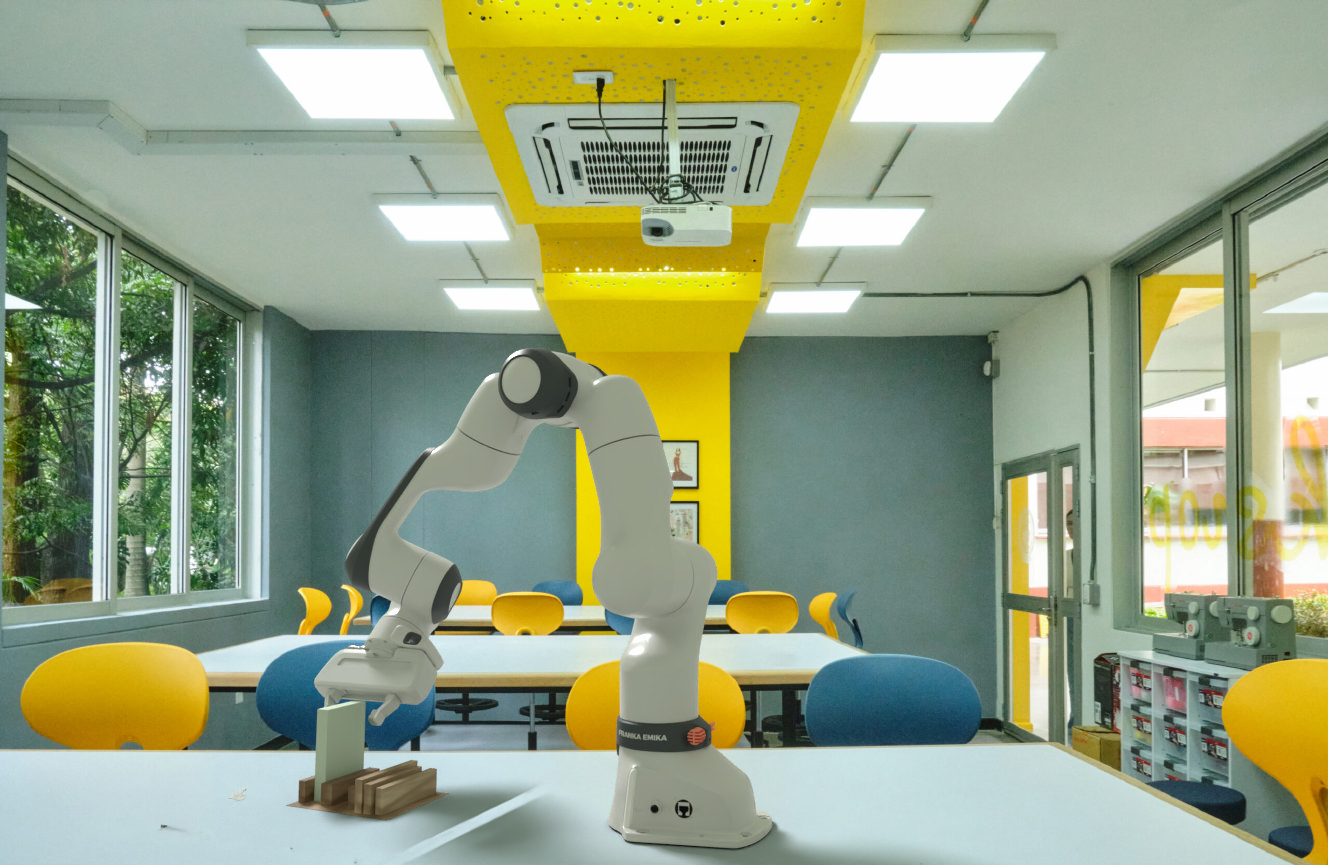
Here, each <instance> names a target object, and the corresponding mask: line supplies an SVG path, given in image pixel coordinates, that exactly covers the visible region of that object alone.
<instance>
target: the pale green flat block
mask: <svg viewBox="0 0 1328 865" xmlns="http://www.w3.org/2000/svg"><path fill="white" fill-rule="evenodd" d="M366 702H367V701H363V700H350V701H345V702H343V703H336V704H335V705H333V706H329V707H324V706H323V707H324V708H323V707H320V708H317V711H316V713H317V714H316V734H315V735H316V739H315V741H316V742H315V765H314V766H315V769H314V775H315V788H314V801H318V802H321V783H324V782H327V781H330V780H333V779H336V778H339V777H342V776H345V775H348V774H351V773H354V772H357V771H360V770H363V769H365V768H364V766H365V764H364V763H365V739H366V738H365V735H366V734H365V733H366V732H365V731H366Z"/></svg>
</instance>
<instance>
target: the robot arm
mask: <svg viewBox="0 0 1328 865" xmlns="http://www.w3.org/2000/svg"><path fill="white" fill-rule="evenodd" d="M457 422H458V423H457V425H456V427H455V428H454V430H453V432H452V434H451V435H450V436H449V438H448V439H447V440H446V441H444V442H443V443H442V444H441V445H439V446H430V447H429V446H428V447H427V448H426V449H425V450H424V451H423V452H421V453H420V454H419V456H418V457H416V459H415V460H414V461H413V462H412V464H411V465H410V466H409V468H408V469H407V470H406V472H405V473H404V474H403V475H402V478H401V479H400V480H399V481H398V483H397V485H396V486H395V487H394V489H393V490H392V492H391V493H390V494H389V496H388V497H387V499H386V501H385V502H384V503H383V505H382V507H381V508H380V509H379V511H378V512H377V513H376V515H375V517H374V518H373V520H372V521H371V523H369V525H368V526H367V528H366V529H365V530H364V532H363V533H362V534H361V535H360V536H359V537H358V538H357V539H356V541H355V542H353V545H352V546H351V547H350V549H349V551H348V552H347V554H346V558H345V562H344V564H343V565H344V570H345V572H346V573H345V574H346V576H347V578H348V580H349V582H350V584H351V585H352V587H354V588H357V589H359V590H362V591H366V592H369V593H371V594H375V595H377V596H380V597H382V598H385V599H387V601H390V604H389V608H388V610H387V611H386V612H385V613H384V614H383V615H382V616H381V617H380V618H379V619H378V621H377V622H376V624H375V626H374V628H373V629H372V631H371V632H370V633H369V635H368V637H367V638H366V639H365V641H364V643H363V645H355V644H353V645H348V646H347V647H346V648H343V649H340V650H338V651H337V652H336V653H335V654H333V655H332V657H330V659H328V661H327V663H325V665H324V666H323V667H322V668H321V670H320V671H319V672H318V674H316V677H314V681H313V684H314V687H315V689H316V691H317V692H318V693H319V694H320V695H321V697H323V698H324V702H323V703H324V706H323V707H322V708H324V707H329V706H333V705H336V704H340V701H341V700H350V701H354V700H359V701H366V702H376V703H382V704H381V705H380V706H379V707H378V708H377V709H372V710H371V712H370V714H369V715H368V717H367V721H368V722H369V723H370V726H377V727H378V726H382V724H383V723H384V722H385V719H386V718H387V717H389V716H390V715H391V714H393V713H394V712H395V711H396V710H398V709H399V707H400V705H401V704H405V705H414V706H417V705H420V704H421V703H423V701H425V700H426V699H427V697H428V696H429V694H430V692H431V690H432V688H433V687H434V686H435V685H434V684H435V682H436V679H437V677H438V671H439V670H441V669H442V667H443V665H444V662H445V661H444V659H443V658H442V656H441V654H440V652H439V651H438V649H437V648H436V646H435V645H434V643H433V642H432V641H431V639H430V636H431V634H432V633H433V631H435V630H436V629H437V628H438V626H439V625H440V623H441V622H443V621H444V620H446V619H447V618H448V616H449V615H450V613H451V612H452V609H453V608H454V606H455V604H456V603H457V601H458V599H459V597H460V595H461V592H462V590H463V584H464V583H463V579H462V575H461V572H460V569H459V567H458V565H457V564H456V563H455V562H453V561H451V560H450V559H448V558H445V557H443V556H442V555H439V554H437V553H435V552H432V551H429V550H427V549H425V548H422V547H420V546H418V545H417V544H414V543H412V542H410V541H408V540H405V539H404V538H402V537H401V536H400V534H399V529H400V528H401V526H402V525H403V524H404V522H405V520H406V519H407V517H408V516H409V515H410V513H411V511H412V510H413V508H414V507H415V506H416V504H417V503H418V501H419V500H420V498H421V497H422V496H423V495H424V494H425V493H427V492H431V491H453V492H465V493H475V492H484V491H485V492H486V491H489V490H492V489H495V488H496V487H497V488H498V487H499V486H500V485H502V484H503V483H504V482H506V481H507V480H508V478H509V477H510V475H511V474H512V473H513V470H514V469H515V467H516V466H517V463H518V461H519V459H520V457H521V455H522V453H523V450H524V448H525V446H526V444H527V441H528V439H529V437H530V436H531V434H532V431H533V430H534V429H536V427H538V426H540V425H542V424H547V425H550V426H552V427H553V426H554V427H558V428H559V427H560V428H570V429H574V430H579V431H580V433H581V435H582V437H583V441H584V445H585V451H586V454H587V457H588V461H589V466H590V471H591V474H592V478H593V482H594V487H595V490H596V495H597V500H598V504H599V512H600V547H599V548H600V549H599V553H598V556H597V558H596V559H595V562H594V564H593V568H592V572H591V585H592V590H593V593H594V595H595V597H596V599H597V600H598V603H600V605H601V606H602V607H603V608H604V609H606V610H607V611H608V612H611V613H612V614H615V615H619V616H622V617H626V618H630V619H634V622H633V626H632V630H631V633H630V637H629V641H628V642H627V645H626V647H625V649H624V650H623V652H622V654H621V657H620V661H619V714H618V715H617V717H616V733H615V743H616V745H615V746H616V755H617V756H618V760H617V769H616V778H615V779H616V780H615V786H614V793H613V799H612V804H611V807H610V812H609V815H608V818H607V824H608V825H609V826H610V827H611V828H612V829H614V830H616V831H617V832H619V833H620V834H621V836H622V838H623V840H625V841H627V842H634V843H650V844H663V845H667V844H668V845H675V846H676V845H677V846H678V845H681V846H692V847H693V846H694V847H708V848H709V847H710V848H722V849H723V848H724V849H739V848H743V847H747V846H749V845H753V844H755V843H757V842H759V841H760V840H762V839H763V838H764V837H765V836H767V835H768V833H769V832H770V831H771V830H772V828H773V820H772V816H771V814H770V813H769V811H764V810H760V809H757V807H756V800H755V798H756V797H755V792H754V788H753V786H752V781H751V780H750V778H749V776H748V775H747V773H746V772H744V770H742V769H740V768H739V767H738V766H737V765H735V764H734V762H732V761H731V760H730V759H729V758H728V757H726V756H725V755H724V753H722V752H721V751H719V750H718V748H716V747H715V746H714V745H713V744H712V740H713V739H712V738H713V737H712V736H713V735H712V733H713V731H714V730H716V728H715V727H714V726H715V724H716V721H712V722H710V723H708V722H707V721H706V720H705V719H704V718H703V717H702V716H701V714H699V663H700V662H699V660H700V653H701V652H700V651H701V645H702V638H703V632H704V629H705V628H704V627H705V621H706V617H707V612H708V611H707V610H708V606H709V602H710V598H711V596H712V594H713V592H714V590H715V588H716V585H717V581H718V568H717V563H716V561H715V559H714V556H712V554H711V553H710V551H709V550H707V549H706V547H703V546H702V545H700V544H699V543H697V542H695V541H693V540H691V539H688V538H686V537H676V536H675V537H673V535H672V534H673V533H672V528H671V527H672V525H671V501H672V498H673V494H674V490H675V489H674V488H675V487H674V482H673V478H672V476H671V475H672V474H671V471H670V467H669V463H668V461H667V460H668V459H667V457H666V454H665V450H664V449H665V448H664V445H663V442H662V439H661V438H662V437H661V436H660V431H659V429H658V425H657V422H656V420H655V416H654V414H653V412H652V409H651V406H650V404H649V402H648V399H647V397H646V395H645V394H644V391H643V390H642V388H641V386H640V385H639V383H638V382H637V381H636V380H635V379H633V378H631V377H630V376H626V375H622V374H609V375H608V374H607V373H606V372H605V371H604V370H602V368H600V367H598V366H596V365H595V364H592V363H587V362H585V361H583V360H582V359H578V358H576V357H575V356H573V355H570V354H567V353H563V352H560V351H559V352H558V351H554V350H549V349H546V348H543V347H527V348H522V349H519V350H516V351H514V352H513V353H511V355H509V357H507V358H506V359H505V361H504V363H503V364H502V366H501V368H500V370H499V372H493V373H491V374H489V375H487V377H485V378H484V379H483V381H482V382H481V384H480V385H479V386H478V388H477V389H476V391H475V392H474V394H473V395H472V397H471V398H470V400H469V401H468V404H466V406H465V409H464V410H463V412H462V414H461V416H460V418H459V420H458V421H457Z"/></svg>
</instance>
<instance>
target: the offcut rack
mask: <svg viewBox="0 0 1328 865" xmlns="http://www.w3.org/2000/svg"><path fill="white" fill-rule="evenodd" d="M418 764H419V762H418V760H416V759H415V760H414V759H410V760H407V761H404V762H401V763H399V764H396V765H393V766H390V767H387V768H383V769H380V768H377V767H367V768H366V767H365V768H364V769H363V770H360V771H357V772H354V773H351V774H348V775H345V776H342V777H339V778H336V779H333V780H330V781H327V782H324V783H321V802H318V801H314V788H315V774H314V775H311V776H309V777H305V778H303V779H299V780H298V796H297V798H298V799H297V800H298V801H295V802H291V803H289V804H286V805H285V807H291V808H292V807H293V808H298V809H299V808H300V809H306V810H313V811H318V812H319V811H320V812H326V813H334V814H338V815H339V814H341V815H346V816H347V815H348V816H354V817H360V818H367V819H373V820H381V821H388V820H390V819H394V818H395V817H397V816H400V815H402V814H405V813H407V812H410V811H411V810H414V809H417V808H419V807H421V806H423V805H426V804H429V803H431V802H433V801H435V800H438V799H440V798H443V797H445V796H449V794H450V793H449V792H440V791H437V780H438V778H437V777H438V776H437V774H438V769H437V768H434V767H429V768H426V769H423V766H421V765H418Z"/></svg>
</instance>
